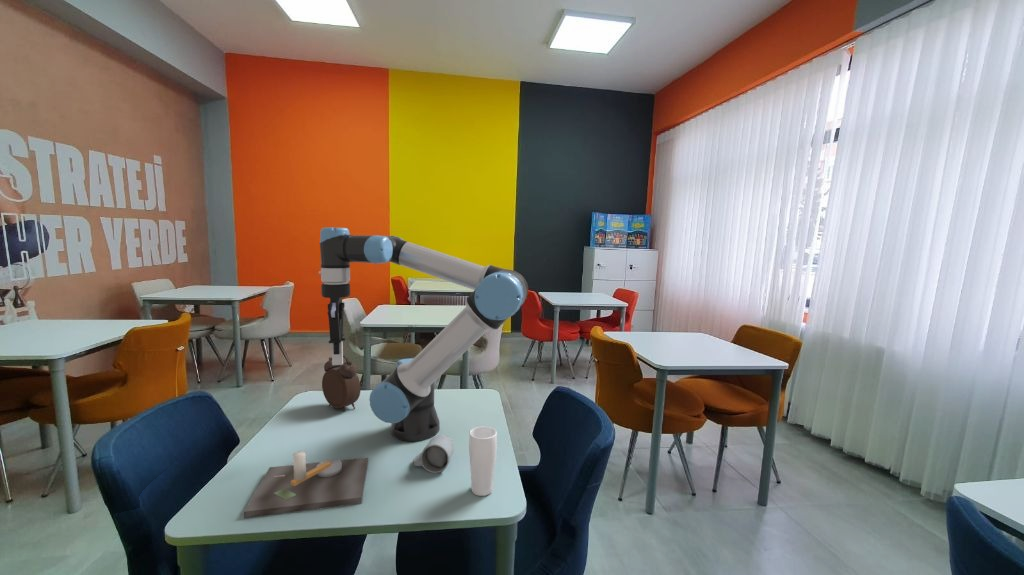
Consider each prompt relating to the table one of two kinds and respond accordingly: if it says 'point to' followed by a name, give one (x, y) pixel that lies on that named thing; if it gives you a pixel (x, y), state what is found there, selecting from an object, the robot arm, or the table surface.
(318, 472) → the dial
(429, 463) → the ceramic mug
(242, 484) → the table surface
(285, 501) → the dial plate
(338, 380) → the alarm clock
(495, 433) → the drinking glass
